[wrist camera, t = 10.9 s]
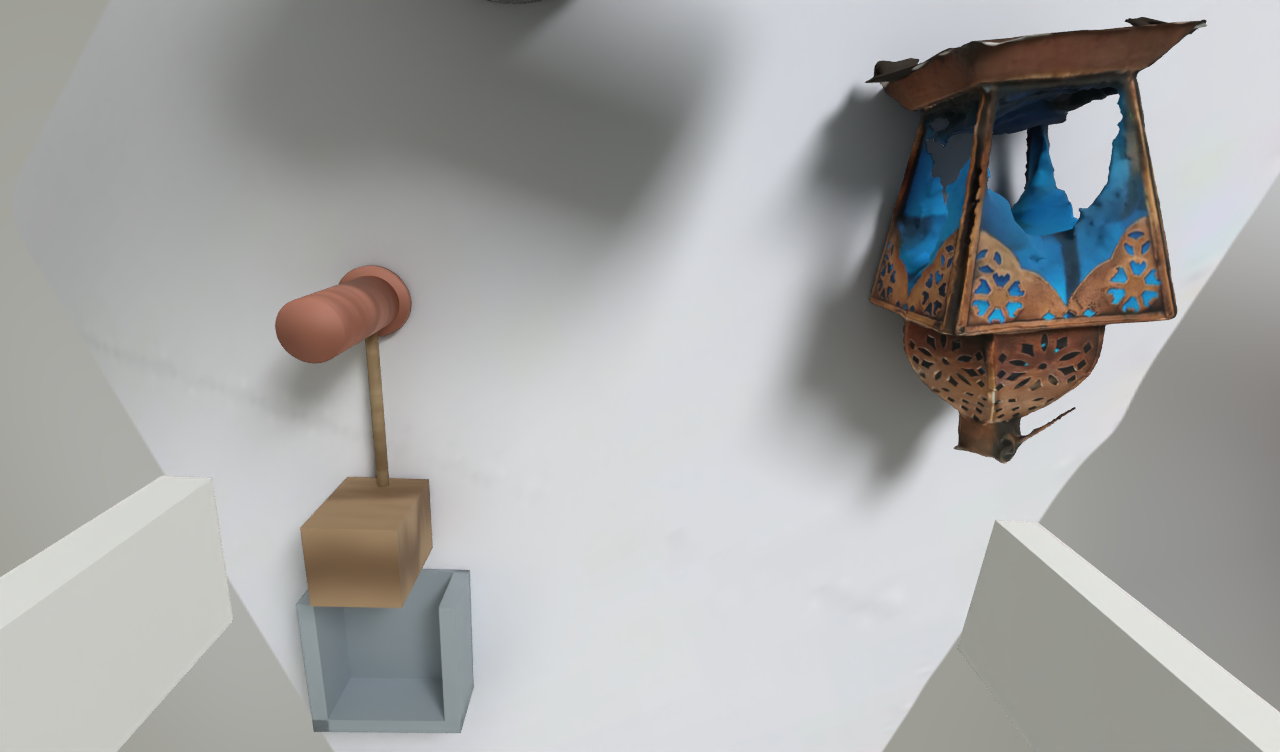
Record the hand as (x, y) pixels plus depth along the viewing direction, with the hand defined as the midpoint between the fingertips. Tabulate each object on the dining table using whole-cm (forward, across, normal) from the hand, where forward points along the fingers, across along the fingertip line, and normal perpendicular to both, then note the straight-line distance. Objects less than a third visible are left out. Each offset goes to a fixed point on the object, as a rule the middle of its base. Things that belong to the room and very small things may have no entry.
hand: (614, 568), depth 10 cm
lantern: (+33, +23, +4) cm, 40 cm away
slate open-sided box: (+33, -16, -30) cm, 47 cm away
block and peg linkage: (+32, -16, -11) cm, 38 cm away
